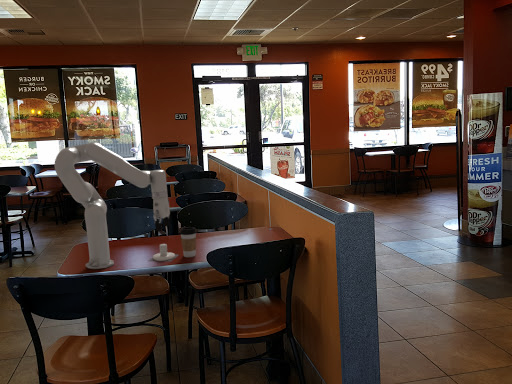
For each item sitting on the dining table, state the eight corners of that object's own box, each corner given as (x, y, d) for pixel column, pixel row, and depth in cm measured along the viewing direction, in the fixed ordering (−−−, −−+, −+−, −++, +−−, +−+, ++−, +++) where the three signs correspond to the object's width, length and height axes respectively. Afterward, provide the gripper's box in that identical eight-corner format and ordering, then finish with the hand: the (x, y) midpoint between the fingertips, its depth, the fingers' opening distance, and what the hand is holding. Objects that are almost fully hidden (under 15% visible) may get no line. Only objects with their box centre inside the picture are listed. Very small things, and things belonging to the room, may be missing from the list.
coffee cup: (182, 259, 237) (180, 230, 235) (180, 255, 246) (179, 226, 243) (198, 257, 239) (197, 228, 237) (197, 253, 247) (195, 225, 245)
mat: (170, 262, 233) (170, 261, 233) (148, 262, 235) (148, 260, 235) (179, 255, 245) (179, 254, 244) (157, 255, 247) (157, 254, 247)
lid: (170, 261, 233) (169, 248, 232) (149, 260, 236) (148, 247, 235) (178, 254, 244) (177, 242, 243) (158, 254, 246) (157, 241, 245)
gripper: (159, 197, 226) (163, 232, 229) (173, 191, 243) (176, 224, 245) (145, 198, 227) (148, 232, 230) (159, 192, 244) (162, 224, 247)
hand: (162, 228), depth 238 cm, fingers open, 9 cm apart
